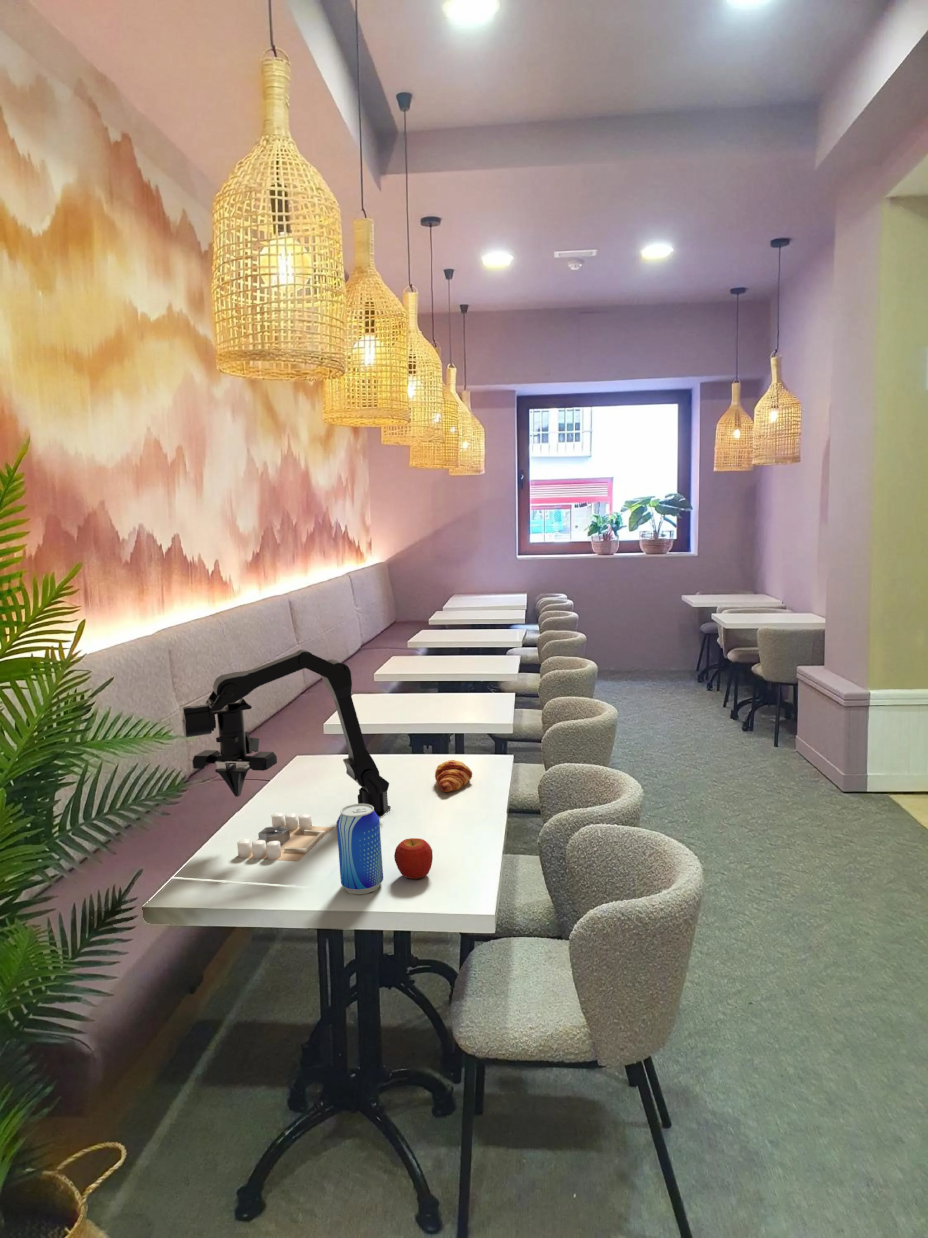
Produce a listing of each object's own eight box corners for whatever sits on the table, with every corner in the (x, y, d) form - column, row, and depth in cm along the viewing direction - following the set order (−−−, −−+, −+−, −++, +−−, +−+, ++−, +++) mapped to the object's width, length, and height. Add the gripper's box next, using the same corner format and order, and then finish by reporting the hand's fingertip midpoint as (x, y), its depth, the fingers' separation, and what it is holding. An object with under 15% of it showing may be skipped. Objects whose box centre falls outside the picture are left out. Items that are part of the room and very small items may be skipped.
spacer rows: (314, 826, 196) (313, 814, 195) (277, 860, 177) (276, 846, 177) (276, 824, 198) (275, 812, 198) (235, 857, 180) (234, 844, 180)
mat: (333, 829, 194) (333, 824, 194) (298, 863, 176) (298, 857, 176) (276, 826, 198) (275, 821, 198) (235, 859, 180) (235, 853, 180)
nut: (293, 835, 191) (292, 825, 190) (279, 848, 184) (278, 837, 184) (269, 834, 192) (269, 824, 192) (255, 846, 185) (254, 836, 185)
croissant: (451, 782, 234) (437, 758, 234) (481, 766, 232) (467, 742, 232) (436, 808, 214) (421, 781, 213) (469, 790, 212) (453, 764, 211)
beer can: (365, 899, 158) (360, 820, 156) (332, 890, 162) (326, 813, 160) (392, 882, 165) (387, 805, 163) (359, 874, 169) (354, 799, 167)
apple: (403, 888, 162) (400, 850, 161) (390, 872, 169) (388, 836, 168) (439, 879, 165) (437, 842, 164) (425, 864, 172) (423, 829, 171)
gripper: (285, 721, 192) (290, 785, 194) (214, 720, 197) (220, 783, 199) (262, 734, 181) (268, 802, 183) (187, 733, 186) (194, 799, 188)
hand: (237, 796), depth 189 cm, fingers closed
